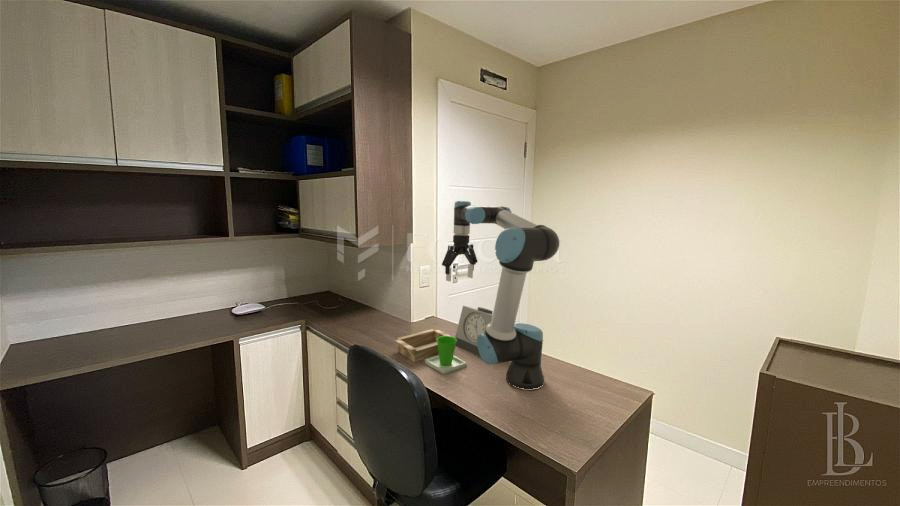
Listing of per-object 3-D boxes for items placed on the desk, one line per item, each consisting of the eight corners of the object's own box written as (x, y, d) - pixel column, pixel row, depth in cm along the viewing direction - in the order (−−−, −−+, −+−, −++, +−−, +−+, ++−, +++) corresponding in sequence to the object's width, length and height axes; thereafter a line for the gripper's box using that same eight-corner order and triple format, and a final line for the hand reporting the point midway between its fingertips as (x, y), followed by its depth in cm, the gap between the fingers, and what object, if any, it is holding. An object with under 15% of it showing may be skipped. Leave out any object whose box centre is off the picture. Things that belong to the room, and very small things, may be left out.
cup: (454, 369, 155) (455, 344, 153) (433, 366, 156) (434, 342, 155) (457, 360, 163) (458, 337, 162) (438, 357, 165) (438, 334, 163)
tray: (466, 366, 159) (466, 362, 159) (443, 374, 151) (443, 370, 151) (447, 355, 169) (447, 352, 169) (425, 363, 161) (425, 359, 161)
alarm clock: (453, 345, 182) (454, 305, 179) (474, 337, 193) (476, 300, 190) (484, 359, 167) (486, 316, 164) (505, 350, 178) (507, 310, 175)
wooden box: (456, 350, 175) (457, 338, 174) (413, 364, 159) (413, 351, 158) (434, 339, 188) (435, 328, 187) (392, 351, 172) (392, 339, 171)
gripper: (475, 232, 179) (473, 274, 183) (435, 234, 164) (433, 280, 167) (486, 234, 174) (483, 277, 177) (445, 236, 158) (443, 284, 161)
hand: (459, 279), depth 172 cm, fingers open, 13 cm apart
